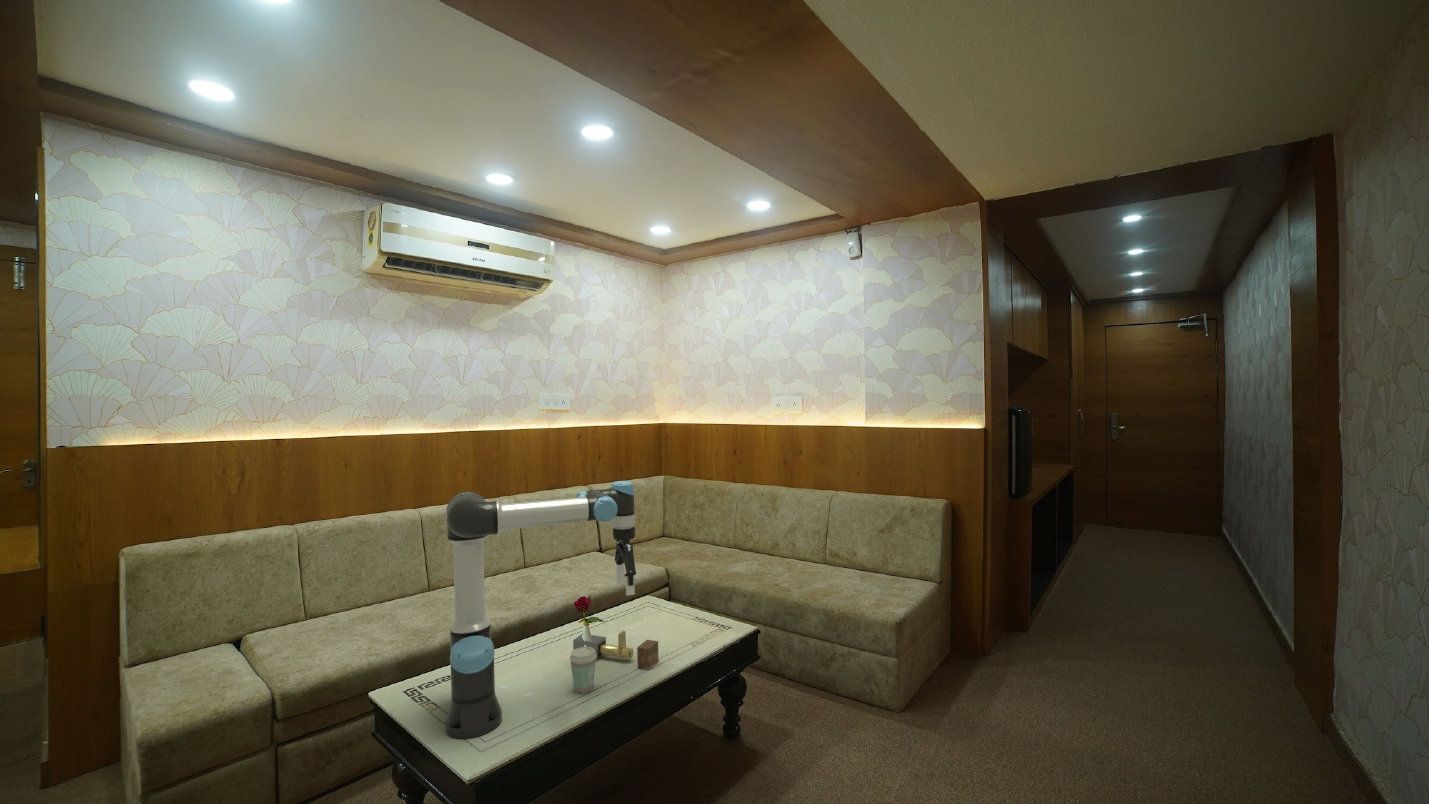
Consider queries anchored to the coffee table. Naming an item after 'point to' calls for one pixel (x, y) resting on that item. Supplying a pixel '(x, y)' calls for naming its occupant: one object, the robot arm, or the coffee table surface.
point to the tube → (617, 648)
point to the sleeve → (590, 643)
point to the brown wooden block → (647, 654)
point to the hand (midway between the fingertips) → (625, 588)
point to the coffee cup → (583, 668)
